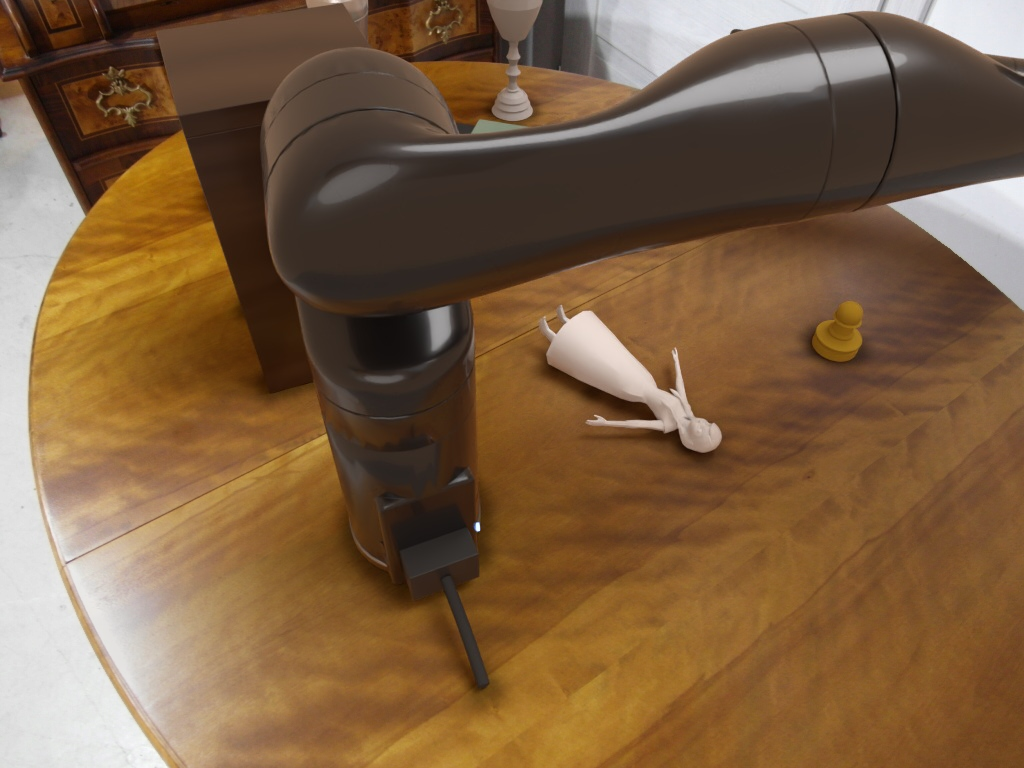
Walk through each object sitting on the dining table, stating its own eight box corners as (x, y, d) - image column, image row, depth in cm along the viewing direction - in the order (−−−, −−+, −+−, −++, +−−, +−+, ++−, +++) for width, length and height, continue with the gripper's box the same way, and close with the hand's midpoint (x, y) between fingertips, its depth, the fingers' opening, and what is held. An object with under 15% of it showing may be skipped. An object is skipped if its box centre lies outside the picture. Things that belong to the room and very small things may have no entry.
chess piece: (812, 326, 71) (829, 284, 67) (856, 335, 70) (877, 293, 66) (811, 356, 68) (829, 315, 64) (857, 365, 67) (878, 324, 64)
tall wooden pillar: (419, 351, 68) (391, 77, 49) (269, 393, 64) (177, 115, 45) (380, 268, 75) (342, 2, 56) (244, 302, 71) (155, 30, 53)
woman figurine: (596, 269, 68) (768, 388, 61) (589, 305, 72) (750, 421, 64) (502, 335, 63) (679, 474, 55) (499, 370, 66) (665, 505, 59)
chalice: (477, 121, 93) (475, -39, 80) (488, 93, 98) (487, -63, 84) (537, 127, 93) (545, -33, 79) (545, 99, 97) (554, -57, 84)
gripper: (896, 167, 67) (708, 137, 70) (887, 89, 76) (721, 65, 79) (934, 84, 61) (728, 55, 64) (919, 12, 71) (739, -12, 73)
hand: (724, 61), depth 71 cm, fingers open, 8 cm apart
